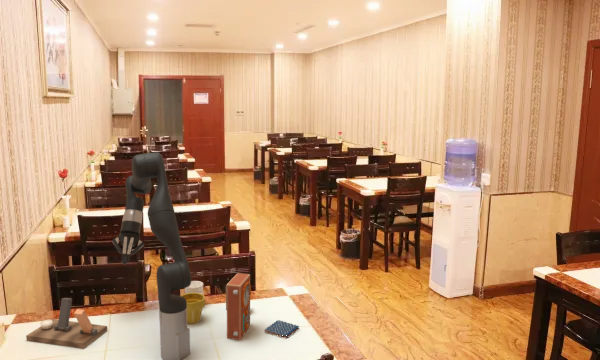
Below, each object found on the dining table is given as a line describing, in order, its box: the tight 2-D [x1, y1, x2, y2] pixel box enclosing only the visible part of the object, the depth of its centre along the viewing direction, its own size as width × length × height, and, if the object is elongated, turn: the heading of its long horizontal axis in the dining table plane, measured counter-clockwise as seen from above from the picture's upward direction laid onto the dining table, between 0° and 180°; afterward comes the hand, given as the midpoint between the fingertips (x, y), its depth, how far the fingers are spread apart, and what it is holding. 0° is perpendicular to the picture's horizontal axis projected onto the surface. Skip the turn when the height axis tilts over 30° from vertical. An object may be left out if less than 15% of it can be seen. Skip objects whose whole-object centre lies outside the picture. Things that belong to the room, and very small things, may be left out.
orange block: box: [73, 308, 94, 334], centre depth 180 cm, size 3×2×12 cm, turn 77°
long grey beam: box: [58, 297, 73, 330], centre depth 186 cm, size 3×2×12 cm, turn 77°
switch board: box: [25, 318, 108, 350], centre depth 185 cm, size 24×14×4 cm, turn 77°
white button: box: [40, 319, 53, 329], centre depth 187 cm, size 4×4×2 cm
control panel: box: [225, 272, 252, 341], centre depth 189 cm, size 21×7×15 cm
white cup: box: [184, 280, 204, 295], centre depth 212 cm, size 8×8×10 cm
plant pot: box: [180, 293, 206, 325], centre depth 199 cm, size 10×10×10 cm
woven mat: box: [263, 319, 300, 339], centre depth 192 cm, size 10×11×2 cm
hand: (124, 264), depth 197 cm, fingers closed
